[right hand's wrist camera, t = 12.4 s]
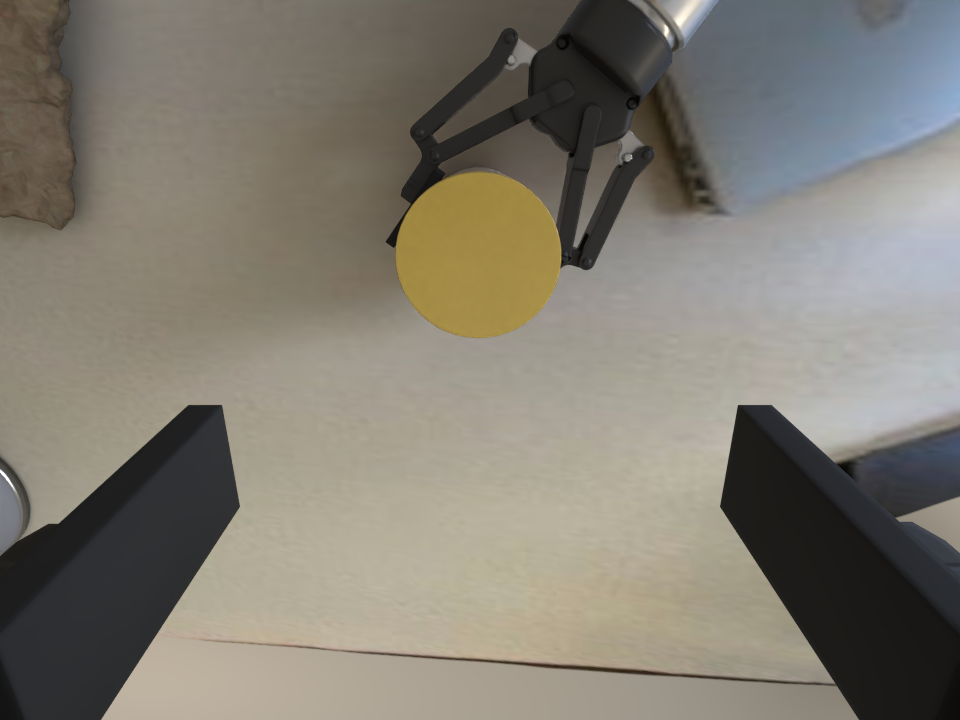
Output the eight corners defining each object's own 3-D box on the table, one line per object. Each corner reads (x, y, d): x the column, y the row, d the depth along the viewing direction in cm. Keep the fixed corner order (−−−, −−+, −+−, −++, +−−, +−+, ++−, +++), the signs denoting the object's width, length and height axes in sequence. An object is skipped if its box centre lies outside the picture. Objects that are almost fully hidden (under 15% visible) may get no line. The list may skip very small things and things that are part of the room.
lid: (387, 180, 36) (382, 182, 34) (552, 161, 35) (556, 163, 34) (411, 336, 39) (408, 345, 38) (561, 321, 39) (565, 329, 37)
